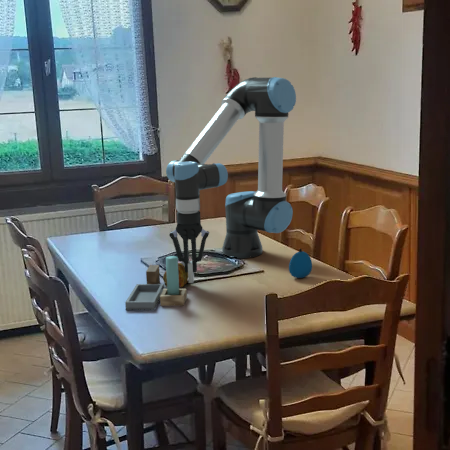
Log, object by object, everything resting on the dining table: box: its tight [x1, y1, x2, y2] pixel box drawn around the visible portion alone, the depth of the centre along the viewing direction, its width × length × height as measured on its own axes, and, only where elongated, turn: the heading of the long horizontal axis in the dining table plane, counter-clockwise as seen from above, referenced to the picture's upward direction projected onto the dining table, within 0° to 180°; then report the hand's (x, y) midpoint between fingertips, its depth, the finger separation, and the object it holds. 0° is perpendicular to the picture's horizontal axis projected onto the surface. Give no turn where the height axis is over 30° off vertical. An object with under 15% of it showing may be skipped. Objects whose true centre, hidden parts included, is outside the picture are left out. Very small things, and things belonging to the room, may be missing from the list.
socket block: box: [159, 288, 188, 307], centre depth 212 cm, size 7×7×3 cm
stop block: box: [145, 264, 161, 284], centre depth 227 cm, size 3×7×6 cm, turn 175°
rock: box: [162, 262, 189, 288], centre depth 227 cm, size 11×8×10 cm
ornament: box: [288, 248, 313, 279], centre depth 230 cm, size 8×5×10 cm, turn 111°
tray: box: [124, 283, 165, 311], centre depth 213 cm, size 9×17×2 cm, turn 175°
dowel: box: [165, 255, 180, 295], centre depth 210 cm, size 4×4×14 cm
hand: (191, 281), depth 226 cm, fingers closed
